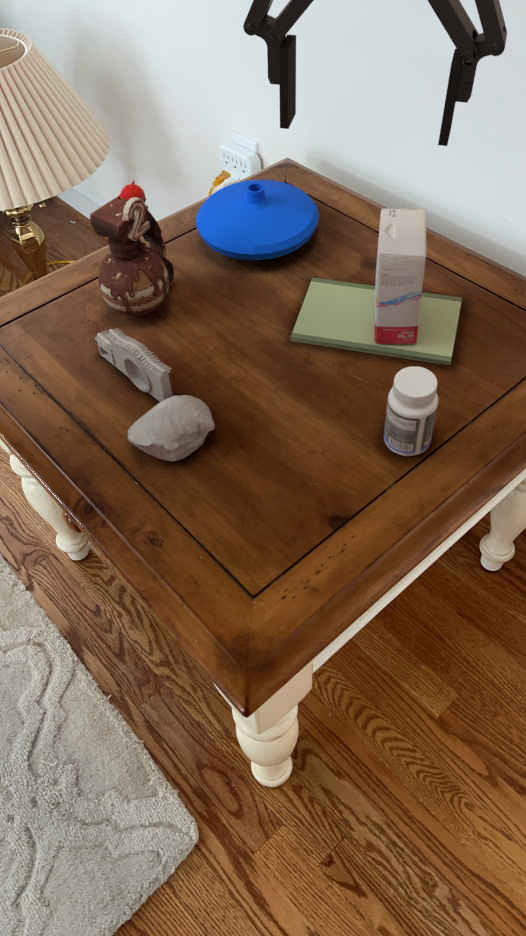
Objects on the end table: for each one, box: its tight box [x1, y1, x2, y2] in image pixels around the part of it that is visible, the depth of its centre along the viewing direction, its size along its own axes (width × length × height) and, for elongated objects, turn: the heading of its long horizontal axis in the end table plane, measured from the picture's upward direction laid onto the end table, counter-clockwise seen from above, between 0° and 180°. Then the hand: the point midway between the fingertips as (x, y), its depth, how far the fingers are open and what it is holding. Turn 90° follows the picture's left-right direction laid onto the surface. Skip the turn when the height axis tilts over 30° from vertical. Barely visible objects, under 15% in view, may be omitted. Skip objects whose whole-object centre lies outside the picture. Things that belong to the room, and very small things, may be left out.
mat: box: [290, 277, 463, 366], centre depth 86 cm, size 18×11×1 cm, turn 75°
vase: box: [195, 179, 320, 261], centre depth 95 cm, size 16×16×7 cm
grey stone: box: [127, 394, 216, 462], centre depth 75 cm, size 9×8×5 cm
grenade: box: [89, 179, 175, 317], centre depth 84 cm, size 9×8×15 cm
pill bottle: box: [383, 365, 439, 457], centre depth 72 cm, size 5×5×8 cm
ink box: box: [374, 207, 427, 344], centre depth 81 cm, size 9×5×12 cm, turn 173°
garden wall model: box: [94, 327, 174, 403], centre depth 80 cm, size 12×2×6 cm, turn 44°
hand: (364, 129), depth 64 cm, fingers open, 13 cm apart
